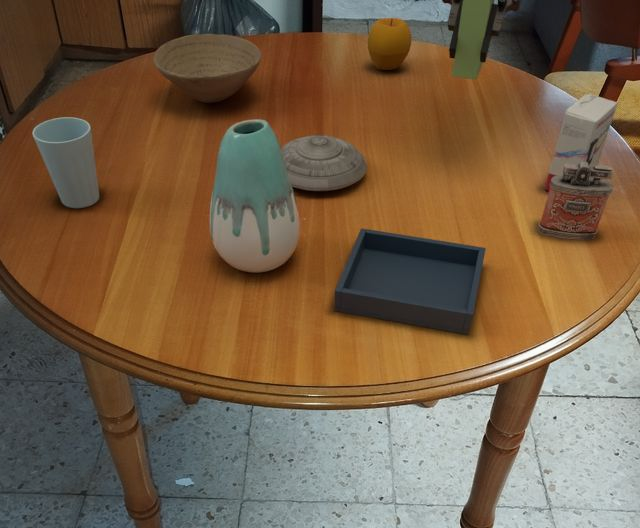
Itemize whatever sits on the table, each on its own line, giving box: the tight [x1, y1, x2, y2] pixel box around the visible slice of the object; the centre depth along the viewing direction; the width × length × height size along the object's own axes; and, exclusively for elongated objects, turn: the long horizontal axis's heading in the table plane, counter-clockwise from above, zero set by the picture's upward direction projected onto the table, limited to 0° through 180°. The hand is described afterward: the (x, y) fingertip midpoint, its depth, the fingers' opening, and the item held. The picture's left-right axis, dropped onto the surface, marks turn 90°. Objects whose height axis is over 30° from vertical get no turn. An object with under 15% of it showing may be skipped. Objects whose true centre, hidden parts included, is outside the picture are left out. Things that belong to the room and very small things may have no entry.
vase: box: [209, 118, 301, 274], centre depth 84 cm, size 12×12×18 cm
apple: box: [367, 17, 413, 71], centre depth 130 cm, size 8×8×9 cm
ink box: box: [544, 93, 618, 192], centre depth 100 cm, size 9×5×12 cm, turn 143°
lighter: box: [536, 161, 614, 240], centre depth 92 cm, size 8×3×10 cm, turn 80°
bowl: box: [153, 33, 262, 104], centre depth 121 cm, size 18×18×8 cm
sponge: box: [451, 0, 495, 81], centre depth 95 cm, size 4×7×11 cm, turn 163°
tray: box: [333, 227, 487, 336], centre depth 85 cm, size 17×14×3 cm
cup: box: [31, 116, 100, 209], centre depth 96 cm, size 8×8×10 cm
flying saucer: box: [281, 134, 368, 192], centre depth 104 cm, size 15×15×6 cm
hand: (467, 55), depth 94 cm, fingers closed on sponge, 4 cm apart
